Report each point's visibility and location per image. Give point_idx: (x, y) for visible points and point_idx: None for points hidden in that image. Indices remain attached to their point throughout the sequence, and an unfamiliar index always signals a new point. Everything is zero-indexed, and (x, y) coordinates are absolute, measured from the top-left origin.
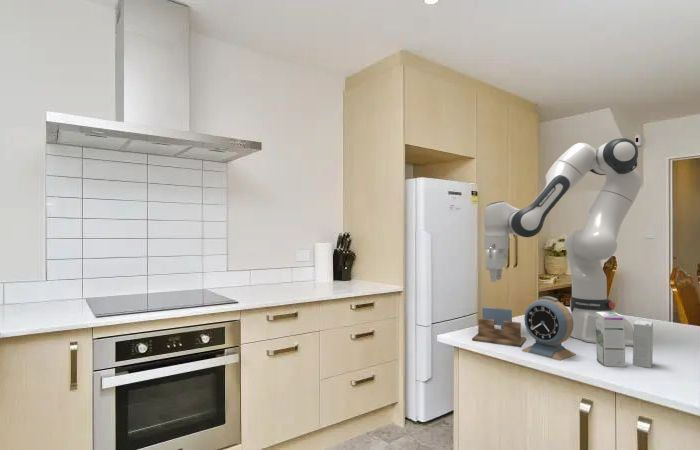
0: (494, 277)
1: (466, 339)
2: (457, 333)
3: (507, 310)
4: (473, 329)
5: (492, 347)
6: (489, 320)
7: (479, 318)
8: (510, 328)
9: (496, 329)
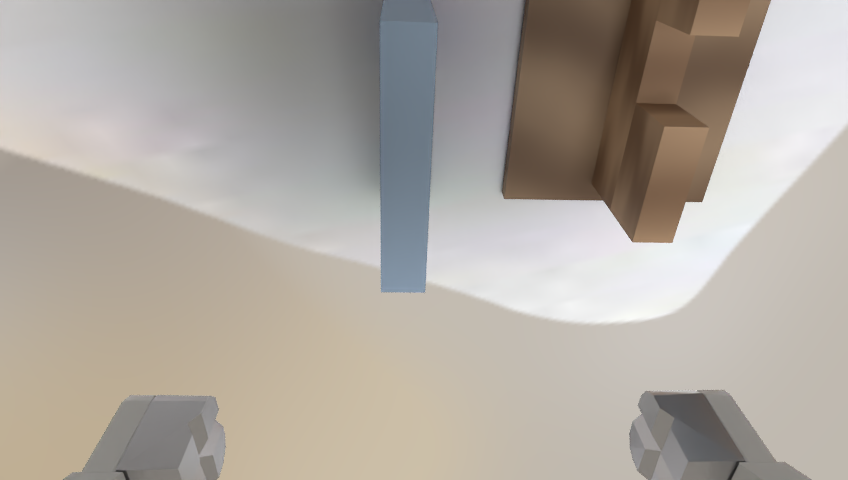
0: (768, 475)
1: None
2: (546, 299)
3: (434, 63)
4: None
5: (844, 50)
6: (697, 159)
7: (648, 239)
8: None
9: (679, 81)
